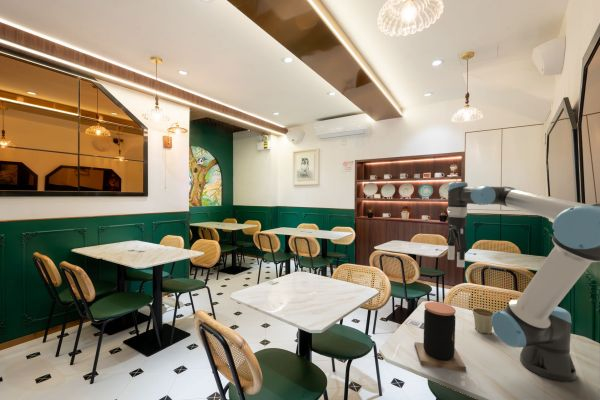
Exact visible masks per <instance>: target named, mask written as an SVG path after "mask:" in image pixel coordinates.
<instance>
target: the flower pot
mask: <svg viewBox="0 0 600 400" xmlns="http://www.w3.org/2000/svg"><path fill="white" fill-rule="evenodd" d="M471 311H472V314H473V320H474V328H475V330H476V331H477V332H479V333H481V334H488V335H489V334H491V333H492V332H493V331H492V330H493V326H492V323H491V318H492V315H493V314H494V313H495V312H494V311H491V310H490V309H487V308H481V307H475V308H471Z"/></svg>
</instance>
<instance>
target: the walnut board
mask: <svg viewBox="0 0 600 400" xmlns="http://www.w3.org/2000/svg"><path fill="white" fill-rule="evenodd" d="M414 349H415V351H416V354H417V358H418V361H419V364H420V365H421V366H428V367H435V368H442V369H447V370H448V369H449V370H456V371H463V372H467V366H466V365H465V363H464V361H463V359H462V358H461V356H460V354H459V353H458V350H457V349H456V348H455V352H454V357H453V358H452V359H451V360H448V361H442V360H437V359H434V358H432V357H430V356H429V355H428V354H427V353H426V352H425V350H424V347H423V342H419V341H417V342H416V341H414Z"/></svg>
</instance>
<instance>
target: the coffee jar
mask: <svg viewBox="0 0 600 400" xmlns="http://www.w3.org/2000/svg"><path fill="white" fill-rule="evenodd" d="M424 308H425V309H424V311H423V312H424V313H423V314H424V315H423V342H422V343H423V347H424V350H425V352H426V353H427V354H428V355H429V356H430V357H432V358H434V359H437V360H442V361H448V360H451V359H452V358H453V357H454V352H455V349H456V348H455V347H456V346H455V345H456V343H455V342H456V339H455V338H456V315H455V314H456V309H455V307H453V306H452V305H450V304H447V303H443V302H439V301H428V302H425V303H424Z"/></svg>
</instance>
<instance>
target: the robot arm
mask: <svg viewBox="0 0 600 400" xmlns="http://www.w3.org/2000/svg"><path fill="white" fill-rule="evenodd" d="M468 204H470V205H478V206H486V205H500V206H504V207H506V208H507V207H509V208H511V209H515V210H518V211H522V212H526V213H529V214H532V215H537V216H540V217H543V218H547V219H551V220H553V222H552V227H551V228H552V230H553V237H552V239H551V241H552V243H553V245H554V247H553V248H552V249H551V251H550V253H549V254H548V255H547V257H546V258H545V260H544V261H543V263H542V264H541V265H540V267H539V268H538V270H537V271H536V273H535V274H534V276H533V277H532V279H531V280H530V282H529V283H528V284H527V286H526V287H525V289H524V290H523V291H522V294H520V296H519V297H518V298H513V299H510V301H509V302H508V304H507V305H506V307H505V308H504V309H503V310H501V309H500V310H499V309H498V310H497V311H495V312H494V314H493V315H492V318H491V323H492V326H493V327H492V330H493V332H494V333H495V335H496V336H497V337H498V339H499V340H500V341H501V342H502V343H504V344H505V345H507V346H509V347H512V348H522V349H521V351H520V353H519V362H520V363H521V364H522V365H523V366H524V367H525V368H526V369H527V370H529V371H531V372H532V373H534V374H536V375H539V376H541V377H544V378H547V379H550V380H552V381H553V380H554V381H558V382H563V383H567V382H568V383H569V382H573V381H576V378H577V370H576V367H575V364H574V361H573V358H572V357H571V353H570V352H571V351H570V350H571V336H572V334H571V331H572V323H573V322H572V316H571V313H570V312H569V311H568V310H566V309H565V308H562V307H559V306H558V305H559V304H560V303H561V302H562V301H563V300H564V298H565V297H566V295H567V294H568V293H569V292H570V290H571V289H572V288H573V286H574V285H575V284H576V283H577V281H578V280H579V279H580V278H581V277H582V276H583V274H584V273H585V271H586V270H587V269H588V268H589V267H590V265H591V264H592V263H600V203H599V202H594V203H591V204H585V203H582V202H577V201H572V200H567V199H564V198H563V199H562V198H557V197H553V196H549V195H548V196H547V195H545V194H544V195H542V194H539V193H534V192H529V191H525V190H519V189H516V188H514V187H511V186H488V185H487V186H486V185H477V186H476V185H474V186H472V185H471V186H469V185H468V182H464V181H456V182H455V181H452V182H449V183H448V188H447V208H446V211H447V215H448V216H447V218H446V219H447V221H446V222H447V225H448V233H447V239H446V244H447V260H451V261H455V248H456V247H455V246H457V250H456V255H457V256H456V268H466V267H465V266H466V265H465V262H466V261H465V260H466V258H465V257H466V253H467V252H468V244H467V239H466V228H463V227H464V226H467V221H468V220H467V217H466V216H467V215H468Z"/></svg>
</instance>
